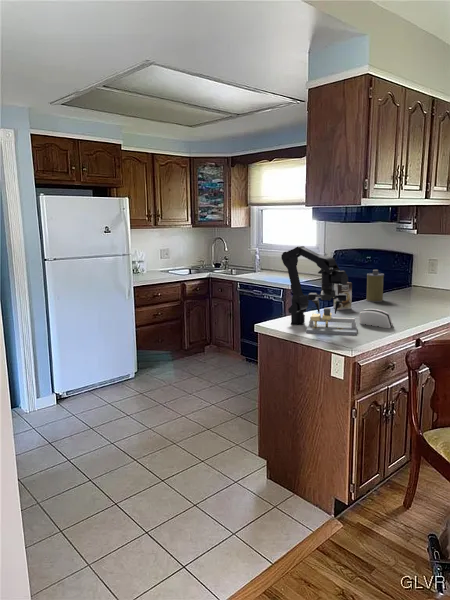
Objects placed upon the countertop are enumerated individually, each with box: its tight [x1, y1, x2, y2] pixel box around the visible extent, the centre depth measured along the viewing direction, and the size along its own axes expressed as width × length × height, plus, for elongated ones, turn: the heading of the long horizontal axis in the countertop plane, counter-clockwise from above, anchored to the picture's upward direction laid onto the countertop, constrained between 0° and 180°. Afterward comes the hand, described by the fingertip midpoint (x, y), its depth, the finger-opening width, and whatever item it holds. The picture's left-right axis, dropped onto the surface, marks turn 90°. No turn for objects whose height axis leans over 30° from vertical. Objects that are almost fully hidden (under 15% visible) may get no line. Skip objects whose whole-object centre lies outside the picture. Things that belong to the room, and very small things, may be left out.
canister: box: [365, 269, 385, 303], centre depth 292 cm, size 11×10×20 cm
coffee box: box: [333, 281, 353, 311], centre depth 273 cm, size 9×6×16 cm
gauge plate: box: [305, 313, 358, 336], centre depth 226 cm, size 24×12×8 cm, turn 73°
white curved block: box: [359, 308, 394, 329], centre depth 233 cm, size 17×5×10 cm, turn 46°
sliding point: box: [321, 307, 333, 327], centre depth 228 cm, size 4×6×9 cm, turn 163°
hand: (327, 313), depth 227 cm, fingers open, 8 cm apart
